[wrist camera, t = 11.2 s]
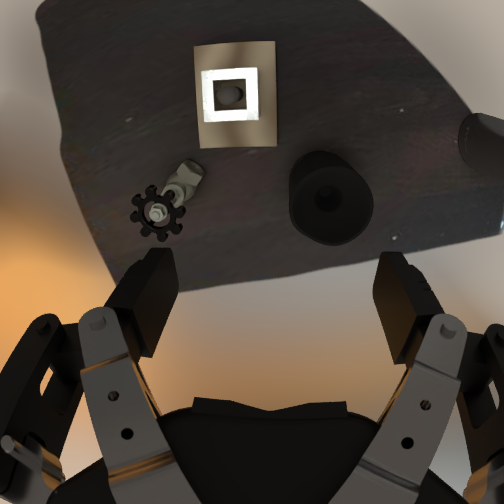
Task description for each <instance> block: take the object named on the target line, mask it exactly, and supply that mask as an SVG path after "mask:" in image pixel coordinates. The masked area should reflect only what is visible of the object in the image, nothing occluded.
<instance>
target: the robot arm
mask: <svg viewBox="0 0 504 504" xmlns="http://www.w3.org/2000/svg"><path fill="white" fill-rule="evenodd" d="M459 149H460V152H461V155H462V157H463V159H464V161H465V162H466V163H467V164H468V165H469V166H470V167H472V168H474V169H476V170H477V171H479V172H481V173H482V174H484V175H485V176H487V177H489V178H490V179H492V180H493V181H495V182H496V183H498V184H500V185H501V186H503V187H504V120H502V119H499V118H496V117H493V116H489V115H486V114H482V113H474V114H471V115H470V116H468V117H467V118H466V119H465V121H464V122H463V124H462V126H461V129H460V133H459ZM178 289H179V283H178V277H177V272H176V267H175V262H174V257H173V252H172V250H171V248H151V249H150V250H149V251H148V253H147V254H146V256H145V257H144V259H143V260H138V261H137V262H136V263H134V264H133V265H132V266H130V267H129V269H128V270H127V272H126V273H125V274H124V277H122V279H121V280H120V282H119V284H118V285H117V286H116V288H115V289H114V291H113V292H112V294H111V295H110V297H109V298H108V300H107V302H106V303H105V305H104V306H103V307H97V308H93V309H91V310H89V311H88V312H86V313H85V314H84V315H83V316H82V317H81V319H80V320H79V323H72V324H65V325H62V324H61V322H60V320H59V318H58V317H57V316H56V315H55V314H50V313H49V314H44V315H41V316H39V317H37V318H36V319H35V320H34V321H33V322H32V323H31V324H30V325H29V327H28V328H27V330H26V332H25V333H24V335H23V336H22V338H21V339H20V341H19V342H18V344H17V346H16V347H15V349H14V351H13V352H12V354H11V355H10V357H9V359H8V361H7V362H6V364H5V366H4V367H3V369H2V371H1V373H0V498H2V499H4V500H6V501H8V502H10V503H12V504H504V326H503V325H500V324H492V325H490V326H489V327H488V328H487V330H486V332H485V333H484V335H483V334H478V333H472V332H467V330H466V327H465V325H464V324H463V323H462V322H461V321H460V320H459V319H458V318H456V317H454V316H452V315H449V314H445V312H444V311H443V308H442V307H441V305H440V303H439V301H438V300H437V298H436V296H435V294H434V292H433V291H432V290H431V287H430V285H429V284H428V283H427V280H426V279H425V277H424V276H423V274H422V272H420V271H419V270H418V269H417V268H416V267H415V266H413V265H409V264H408V262H407V260H406V259H405V257H404V255H403V254H402V253H401V252H382V253H381V255H380V258H379V263H378V267H377V271H376V276H375V280H374V284H373V299H374V303H375V306H376V308H377V311H378V314H379V317H380V320H381V323H382V326H383V329H384V332H385V336H386V339H387V342H388V345H389V349H390V352H391V355H392V359H393V362H394V364H395V365H396V364H406V367H407V369H406V371H405V372H404V374H403V376H402V378H401V380H400V382H399V384H398V386H397V388H396V390H395V392H394V393H393V395H392V397H391V399H390V401H389V402H388V404H387V406H386V408H385V410H384V411H383V413H382V414H381V416H380V418H379V419H378V421H377V422H375V421H373V420H371V419H369V418H368V417H365V416H363V415H360V414H356V413H353V412H348V411H347V405H346V401H342V402H321V403H307V404H303V405H298V406H293V407H289V408H284V409H279V410H275V411H266V410H262V409H259V408H255V407H251V406H247V405H244V404H241V403H237V402H234V401H231V400H219V399H209V398H199V397H194V401H193V405H192V407H187V408H183V409H178V410H175V411H172V412H169V413H167V414H164V415H162V414H161V412H160V410H159V408H158V406H157V404H156V402H155V400H154V398H153V396H152V393H151V391H150V389H149V387H148V385H147V382H146V380H145V378H144V375H143V373H142V371H141V368H140V366H139V364H138V362H139V360H140V357H141V356H142V357H148V358H152V357H153V354H154V352H155V349H156V346H157V344H158V341H159V339H160V336H161V334H162V331H163V329H164V326H165V324H166V322H167V319H168V317H169V314H170V312H171V309H172V307H173V305H174V302H175V300H176V297H177V295H178ZM48 367H50V369H51V370H52V371H53V374H52V376H51V378H50V381H49V382H48V385H47V387H46V389H45V391H44V393H43V395H42V396H41V393H40V384H41V381H42V379H43V377H44V375H45V373H46V371H47V369H48ZM492 381H494V384H495V387H496V389H497V392H498V395H499V406H498V409H496V406H495V404H494V400H493V397H492V394H491V392H490V389H489V386H488V385H489V384H490V383H491V382H492ZM83 392H84V393H85V397H86V402H87V406H88V409H89V413H90V417H91V420H92V424H93V428H94V431H95V434H96V437H97V441H98V443H99V447H100V450H101V453H102V455H103V457H102V458H101V459H99V460H98V461H96V462H95V463H93V464H92V465H90V466H88V467H87V468H85V469H84V470H82V471H81V472H79V473H78V474H76V475H74V476H73V477H71V478H70V479H68V480H66V481H65V475H64V473H63V472H62V466H61V463H60V461H59V459H60V456H61V452H62V449H63V446H64V443H65V440H66V438H67V435H68V432H69V429H70V426H71V424H72V421H73V418H74V415H75V413H76V410H77V407H78V405H79V402H80V400H81V397H82V395H83ZM455 401H456V402H457V406H458V410H459V413H460V417H461V422H462V425H463V430H464V435H465V439H466V444H467V449H468V454H469V460H470V466H471V472H472V475H471V476H470V478H469V480H468V483H467V487H466V488H465V489H464V491H463V497H462V496H461V495H460V494H458V493H457V492H456V491H455V490H453V489H452V488H451V487H450V486H449V485H448V484H446V483H445V482H444V481H443V480H442V479H441V478H439V477H438V476H437V475H436V474H435V473H434V472H432V471H431V470H430V469H429V466H430V464H431V462H432V459H433V457H434V455H435V453H436V451H437V448H438V446H439V444H440V441H441V439H442V436H443V434H444V431H445V429H446V426H447V424H448V421H449V418H450V415H451V412H452V410H453V407H454V404H455Z"/></svg>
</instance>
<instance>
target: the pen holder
mask: <svg viewBox="0 0 504 504" xmlns="http://www.w3.org/2000/svg"><path fill="white" fill-rule="evenodd" d="M373 206H374V205H373V197H372V193H371V191H370V188H369V187H368V185H367V183H366V182H365V180H364V179H363V178H362V177H361V176H360V175H359V174H358V173H357V172H356V171H355V170H354V169H353V168H352V167H351V166H349V165H348V164H347V163H346V162H345V161H344V160H342V159H341V158H340V157H338V156H337V155H335V154H333V153H330V152H325V151H316V152H312V153H309V154H307V155H305V156H303V157H302V158H300V159H299V160H298V161H297V162H296V164H295V165H294V167H293V169H292V171H291V174H290V181H289V213H290V218H291V221H292V223H293V225H294V227H295V228H296V229H297V230H298V231H299V232H300V233H302V234H303V235H305V236H307V237H308V238H310V239H312V240H314V241H316V242H318V243H321V244H324V245H329V246H337V245H342V244H345V243H348V242H350V241H352V240H353V239H355V238H356V237H358V236H359V235H360V234H361V233H362V232H363V231H364V230H365V228H366V227H367V225H368V224H369V222H370V219H371V217H372V213H373Z"/></svg>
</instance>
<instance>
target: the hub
mask: <svg viewBox="0 0 504 504" xmlns="http://www.w3.org/2000/svg"><path fill="white" fill-rule="evenodd" d="M201 75H202V94H203V110H204V122H216V121H236V120H259V118H260V117H261V104H260V71H259V69H258V68H235V69H221V70H209V71H201ZM235 80H246V95H247V107H238V108H222V103H220V102H219V101H218V99H217V92H218V90H219V89H220V88H221V81H235Z"/></svg>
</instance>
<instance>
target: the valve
mask: <svg viewBox="0 0 504 504" xmlns="http://www.w3.org/2000/svg"><path fill="white" fill-rule="evenodd" d="M204 175H205V172H204V170H203V169H202V168H201V167H200V166H199V165H198V164H196V163H195V162H193V161H190V160H185V161H184V162H183V163H182V164H181V165H180V167H179V168H178V170H177V171H176V172H174V173H173V174H172V175H171V176H170V177H169V178H168V180H167V183H166V187H165V188H164V189H163V192H162V193H161V195H157V194H156V190H157V187H156V186H155V185H150V186H149V187H147V188H146V190H145V194H146V196H147V197H146V198H145V199H142V198H141V194H136V195H135V196H134V197H133V198H132V200H131V201H132V204H133V205H134V206H137V207H138V212H137V211H134V212H133V213H132V214H131V215H130V220H131V221H132V222H134V223H136V222H138V221H139V222H141V224H142V225H143V228H142V229H141V231H140V233H141V235H142V236H143V237H148V236H149V234H150V233H151V232H154V233H156V234H157V239H158V241H160V242H164V241H166V239H167V238H168V234H166V232H167V231H169V230H170V231H171V232H172V233H173V234H175V235H178V234H179V233H180V232H181V230H182V228H183V226H182V224H181V223H180V224H177V223H176V222H175V221H176V218H182V217H183V216H184V214H185V212H186V209H185V207H184V206H182V204H183V203H184V202H185V201H186V200H188V199H190V198H191V197H192V196H193V195H194V193H195V191H196V188H197V184H198V183H199V181H200V180H201V179H202V177H203V176H204ZM151 201H154V202H155V204H154V205H153V206H152V208H151V211H150V213H149V215H150V217H151V221H150V222H148V221H147V219H146V217H145V215H144V207H145V205H146V204H147V203H148V202H151ZM169 213H170V222H169V223H168V224H167V225H166V226H163V227H157V226H154V223H155V222H160V221H161V220H162V219H164V218H165V217H166V216H167V215H168V214H169Z"/></svg>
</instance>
